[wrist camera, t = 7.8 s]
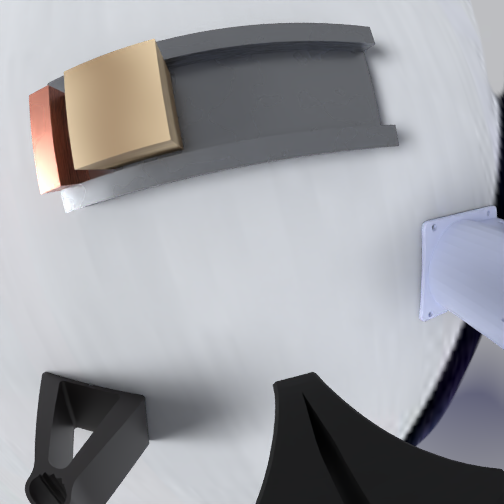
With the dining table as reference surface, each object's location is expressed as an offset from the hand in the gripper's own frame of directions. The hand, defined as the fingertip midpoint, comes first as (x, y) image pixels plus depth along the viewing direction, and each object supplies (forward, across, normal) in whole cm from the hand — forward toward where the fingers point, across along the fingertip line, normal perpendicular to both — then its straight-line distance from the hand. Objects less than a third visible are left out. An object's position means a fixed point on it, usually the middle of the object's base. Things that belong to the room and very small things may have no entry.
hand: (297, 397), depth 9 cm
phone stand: (+10, +15, +8) cm, 20 cm away
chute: (+9, 0, -11) cm, 14 cm away
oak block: (+8, +4, -11) cm, 14 cm away
